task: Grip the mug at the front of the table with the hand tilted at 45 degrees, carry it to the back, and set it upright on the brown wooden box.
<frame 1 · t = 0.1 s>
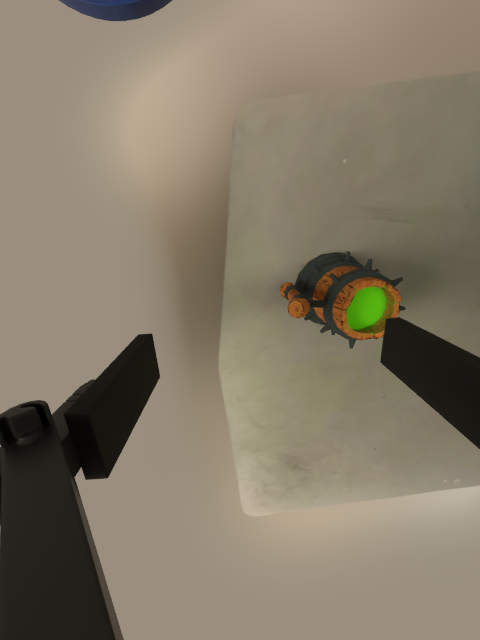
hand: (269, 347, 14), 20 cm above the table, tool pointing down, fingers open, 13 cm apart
mug: (318, 288, 34), on the table
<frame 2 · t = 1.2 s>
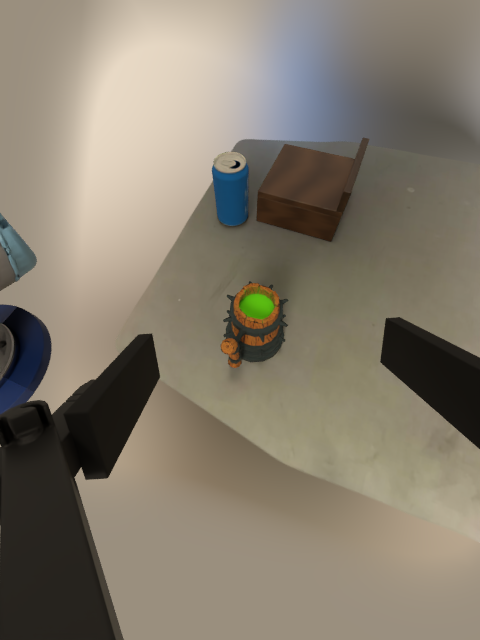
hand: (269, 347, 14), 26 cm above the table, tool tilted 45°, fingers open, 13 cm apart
beverage can: (233, 218, 55), on the table
mug: (250, 341, 42), on the table
brown wooden box: (303, 205, 56), on the table
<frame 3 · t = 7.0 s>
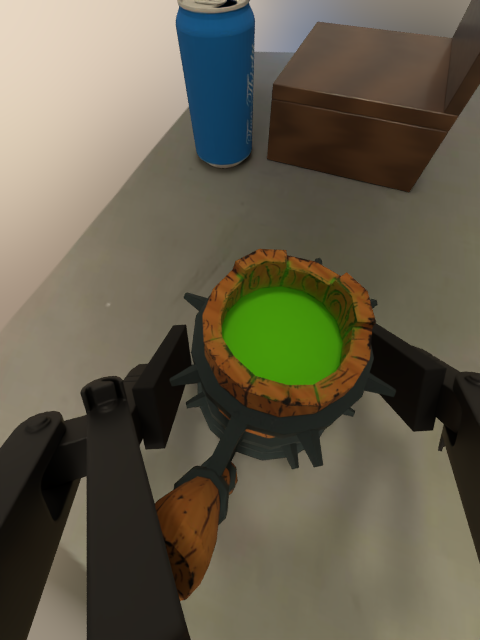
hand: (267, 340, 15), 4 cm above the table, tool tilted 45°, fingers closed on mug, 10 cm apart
beverage can: (224, 156, 31), on the table
mug: (256, 402, 18), on the table, touching gripper
brown wooden box: (349, 136, 32), on the table
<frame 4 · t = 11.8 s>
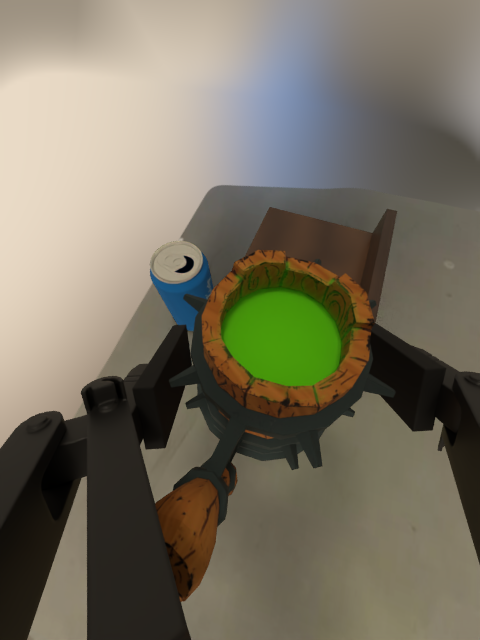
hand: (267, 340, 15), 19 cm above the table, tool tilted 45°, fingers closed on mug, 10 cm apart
beverage can: (196, 313, 38), on the table
mug: (255, 403, 18), point 15 cm above the table, touching gripper
brown wooden box: (298, 291, 39), on the table
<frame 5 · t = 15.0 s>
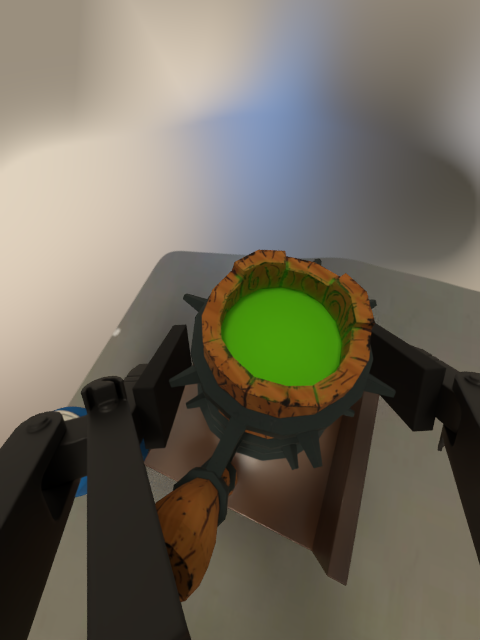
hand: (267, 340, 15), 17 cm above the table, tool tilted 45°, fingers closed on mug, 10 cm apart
beverage can: (123, 449, 29), on the table
mug: (256, 403, 18), point 13 cm above the table, touching gripper
brown wooden box: (259, 417, 30), on the table
when the fingers open (11 cm above the table, at t = 17.2 s): mug stays where it is, resting on brown wooden box.
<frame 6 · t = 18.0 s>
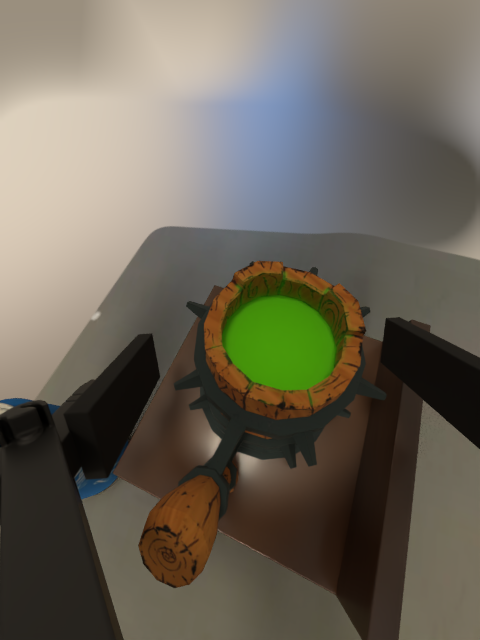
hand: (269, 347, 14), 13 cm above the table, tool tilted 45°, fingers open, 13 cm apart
beverage can: (98, 453, 24), on the table
mug: (256, 404, 19), point 7 cm above the table, touching brown wooden box
brown wooden box: (262, 414, 25), on the table
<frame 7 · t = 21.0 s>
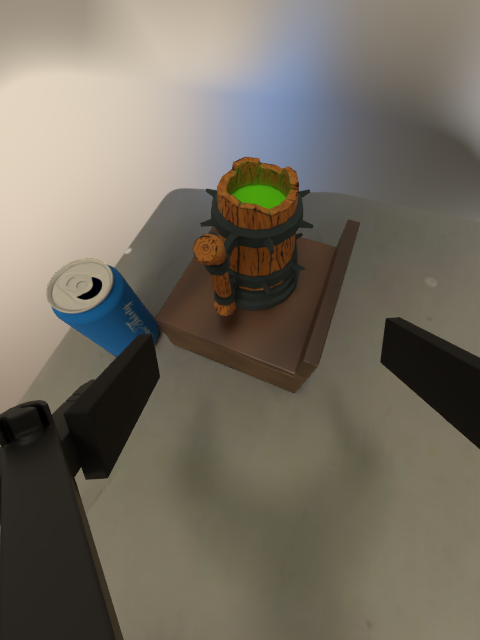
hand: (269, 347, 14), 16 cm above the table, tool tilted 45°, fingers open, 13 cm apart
beverage can: (135, 337, 33), on the table
mug: (248, 283, 28), point 7 cm above the table, touching brown wooden box
brown wooden box: (254, 312, 34), on the table
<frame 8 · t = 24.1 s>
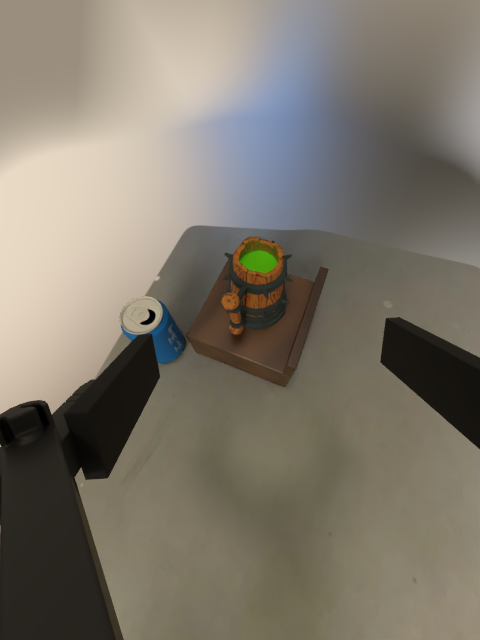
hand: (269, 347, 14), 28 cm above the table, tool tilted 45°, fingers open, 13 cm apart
beverage can: (167, 346, 44), on the table
mug: (251, 309, 39), point 7 cm above the table, touching brown wooden box
brown wooden box: (255, 327, 45), on the table
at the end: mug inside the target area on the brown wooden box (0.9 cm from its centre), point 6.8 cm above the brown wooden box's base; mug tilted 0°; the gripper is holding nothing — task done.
